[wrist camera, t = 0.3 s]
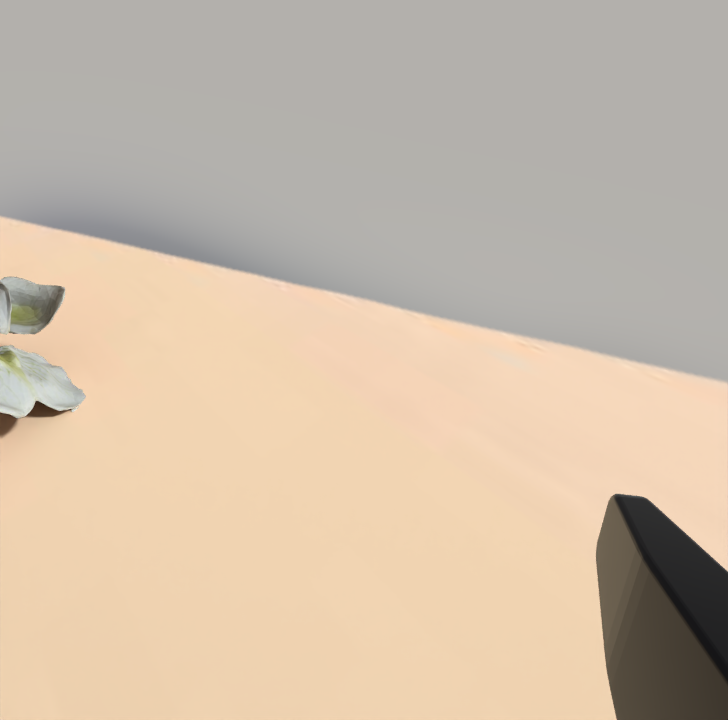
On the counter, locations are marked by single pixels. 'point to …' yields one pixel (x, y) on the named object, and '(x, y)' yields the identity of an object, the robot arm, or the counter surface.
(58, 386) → the artificial flower
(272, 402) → the counter surface
